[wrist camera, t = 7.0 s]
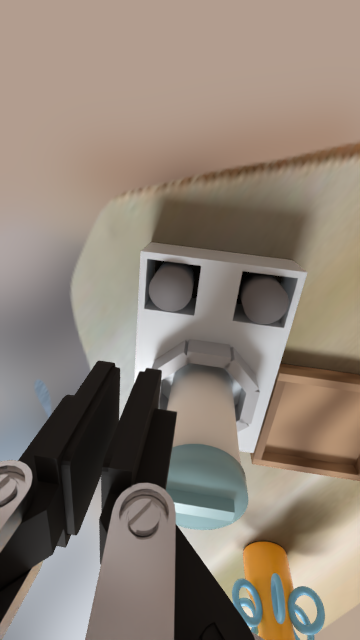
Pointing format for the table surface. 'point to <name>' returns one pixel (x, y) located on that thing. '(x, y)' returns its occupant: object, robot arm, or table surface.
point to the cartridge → (205, 450)
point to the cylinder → (273, 595)
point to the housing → (217, 329)
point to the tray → (312, 423)
